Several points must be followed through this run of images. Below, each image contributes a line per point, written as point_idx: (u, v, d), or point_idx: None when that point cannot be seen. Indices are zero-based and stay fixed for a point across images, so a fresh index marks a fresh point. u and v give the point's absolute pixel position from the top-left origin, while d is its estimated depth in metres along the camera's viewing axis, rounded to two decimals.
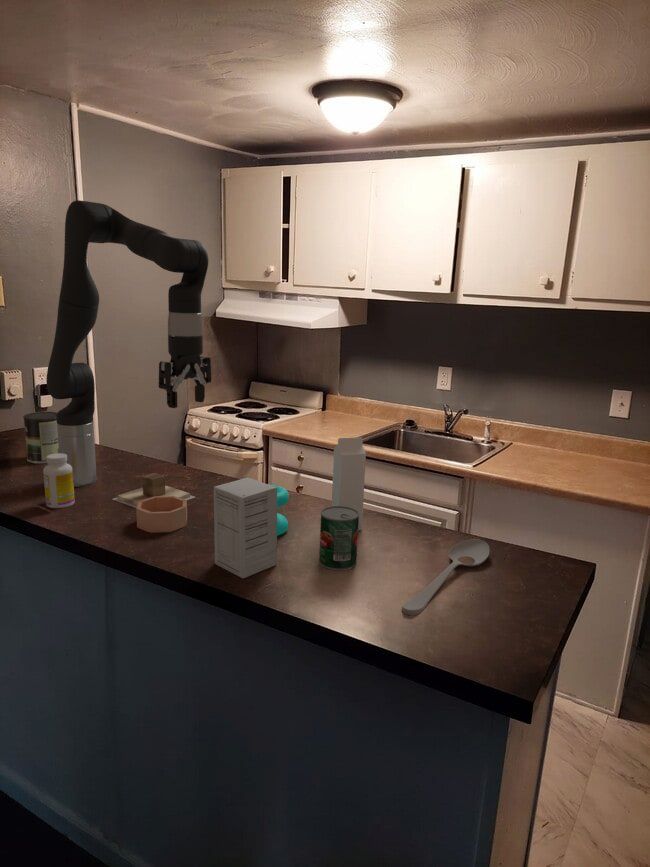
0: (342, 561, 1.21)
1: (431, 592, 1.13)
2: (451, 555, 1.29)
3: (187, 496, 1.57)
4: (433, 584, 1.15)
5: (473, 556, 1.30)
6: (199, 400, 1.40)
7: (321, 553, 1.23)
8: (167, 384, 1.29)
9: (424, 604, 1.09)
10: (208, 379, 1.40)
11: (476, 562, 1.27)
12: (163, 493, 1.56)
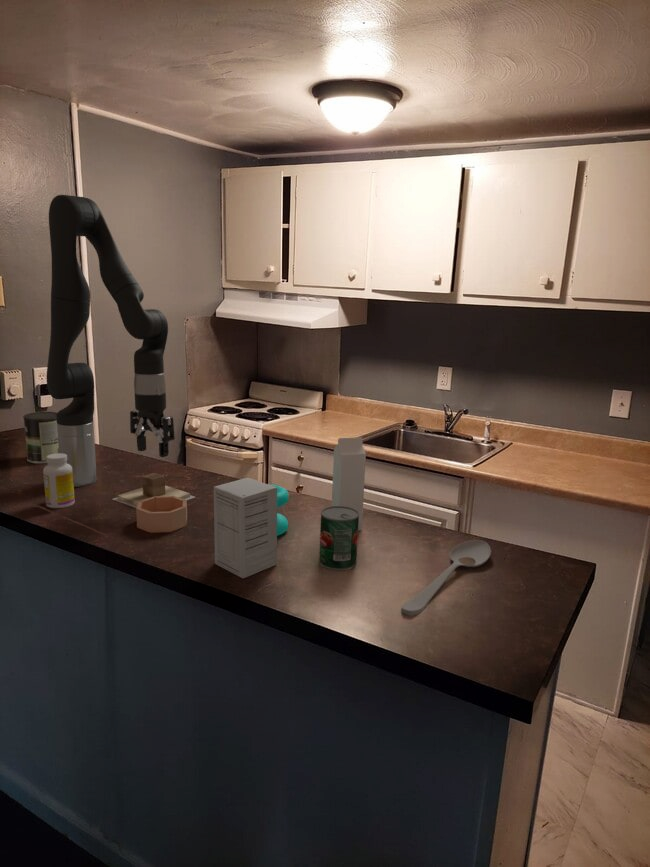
0: (342, 561, 1.21)
1: (431, 593, 1.12)
2: (452, 556, 1.28)
3: (187, 496, 1.57)
4: (433, 584, 1.15)
5: (474, 557, 1.29)
6: (143, 448, 1.55)
7: (321, 553, 1.23)
8: None
9: (423, 605, 1.09)
10: None
11: (477, 563, 1.27)
12: (163, 493, 1.56)
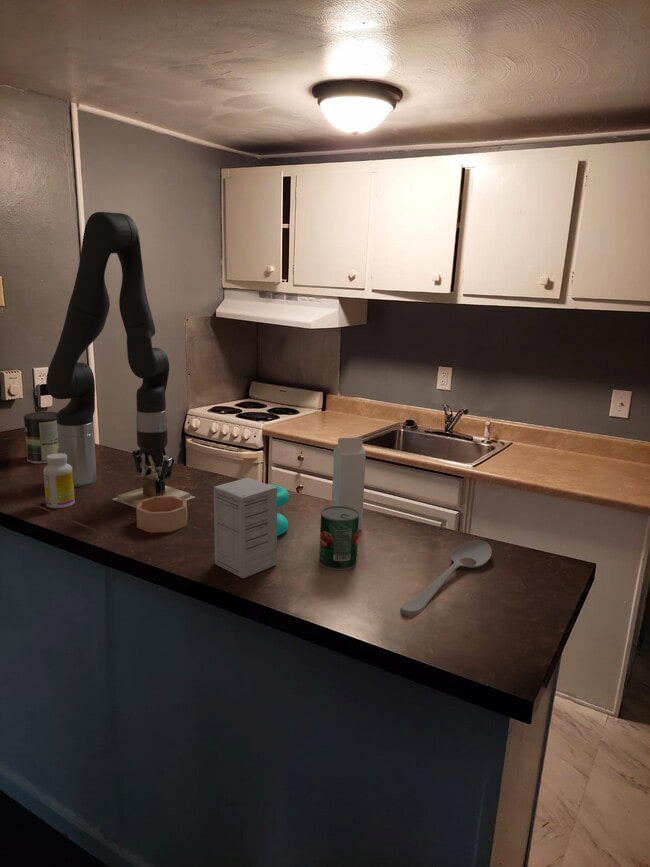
0: (342, 561, 1.21)
1: (430, 593, 1.12)
2: (453, 556, 1.28)
3: (187, 496, 1.57)
4: (433, 585, 1.15)
5: (475, 558, 1.29)
6: None
7: (321, 553, 1.23)
8: None
9: (423, 605, 1.08)
10: None
11: (478, 564, 1.26)
12: (163, 493, 1.56)
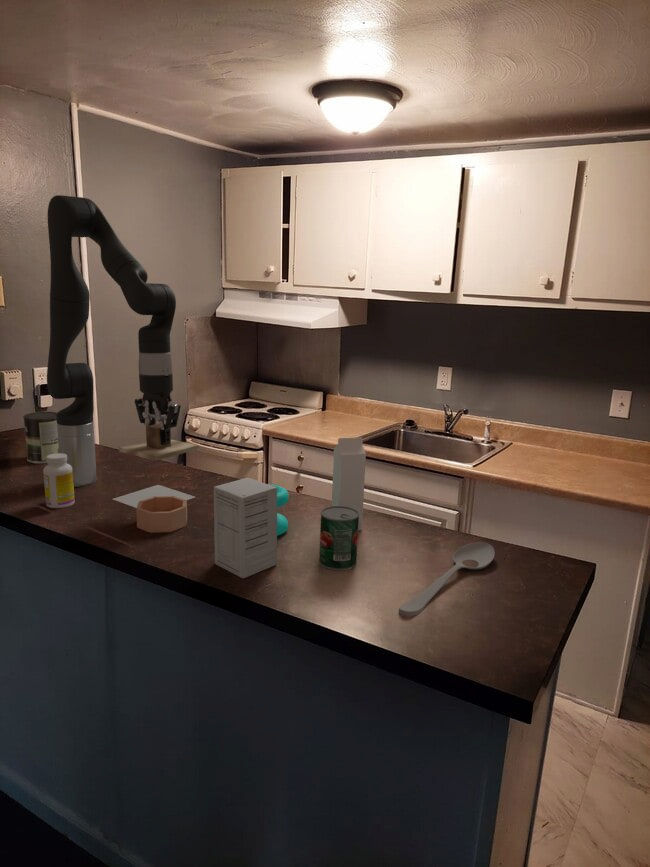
0: (342, 561, 1.21)
1: (430, 594, 1.12)
2: (455, 558, 1.28)
3: (195, 448, 1.44)
4: (433, 586, 1.14)
5: (478, 559, 1.28)
6: None
7: (321, 553, 1.23)
8: None
9: (422, 606, 1.08)
10: None
11: (480, 565, 1.25)
12: (169, 445, 1.43)
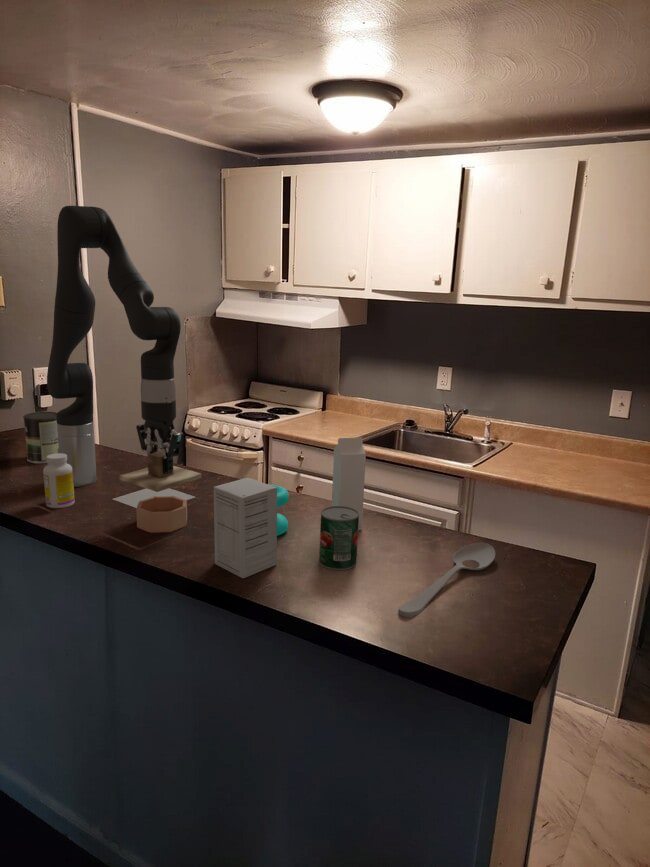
0: (342, 561, 1.21)
1: (430, 595, 1.12)
2: (456, 558, 1.27)
3: (198, 477, 1.39)
4: (433, 586, 1.14)
5: (478, 560, 1.28)
6: None
7: (321, 553, 1.23)
8: None
9: (421, 606, 1.08)
10: None
11: (481, 566, 1.25)
12: (171, 473, 1.38)
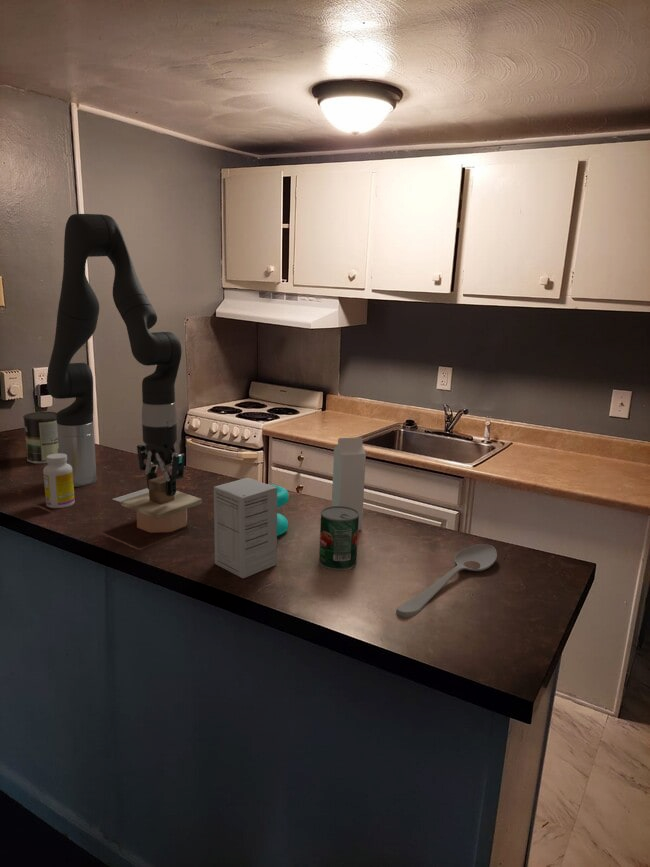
0: (342, 561, 1.21)
1: (429, 595, 1.11)
2: (457, 559, 1.27)
3: (199, 502, 1.40)
4: (432, 587, 1.14)
5: (480, 561, 1.27)
6: None
7: (321, 553, 1.23)
8: None
9: (420, 607, 1.08)
10: None
11: (482, 567, 1.25)
12: (172, 499, 1.39)
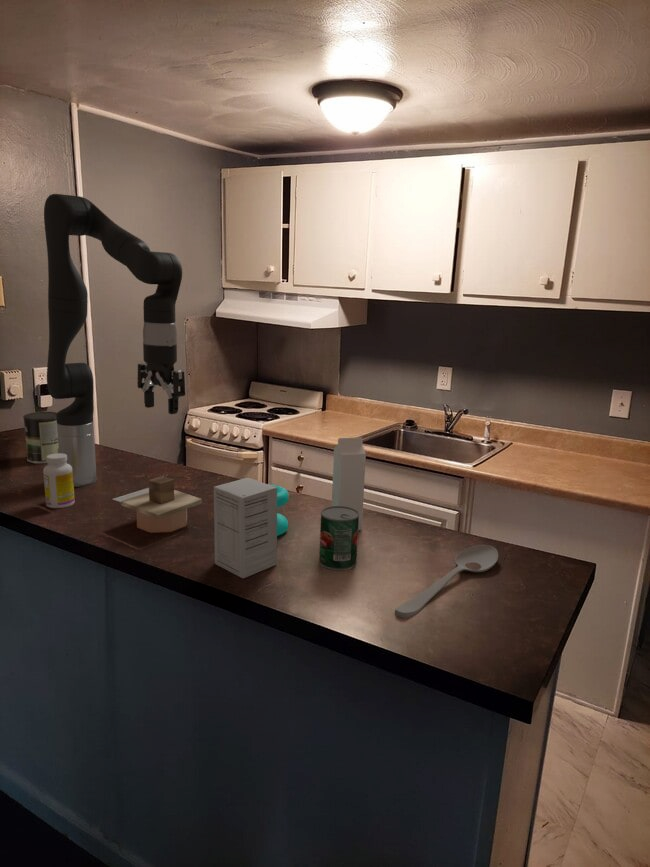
0: (342, 561, 1.21)
1: (428, 596, 1.11)
2: (458, 560, 1.26)
3: (199, 502, 1.40)
4: (432, 588, 1.14)
5: (481, 562, 1.27)
6: (151, 405, 1.45)
7: (321, 553, 1.23)
8: None
9: (419, 607, 1.08)
10: None
11: (483, 568, 1.24)
12: (172, 499, 1.39)
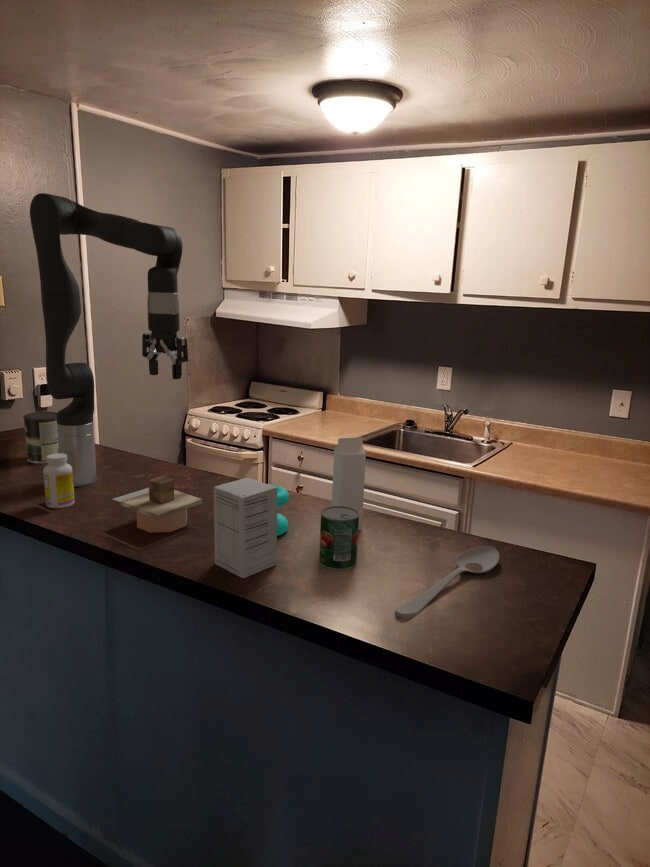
0: (342, 561, 1.21)
1: (429, 597, 1.11)
2: (459, 561, 1.26)
3: (199, 502, 1.40)
4: (432, 589, 1.13)
5: (482, 563, 1.27)
6: (155, 373, 1.53)
7: (321, 553, 1.23)
8: None
9: (419, 609, 1.07)
10: None
11: (484, 569, 1.24)
12: (172, 499, 1.39)
